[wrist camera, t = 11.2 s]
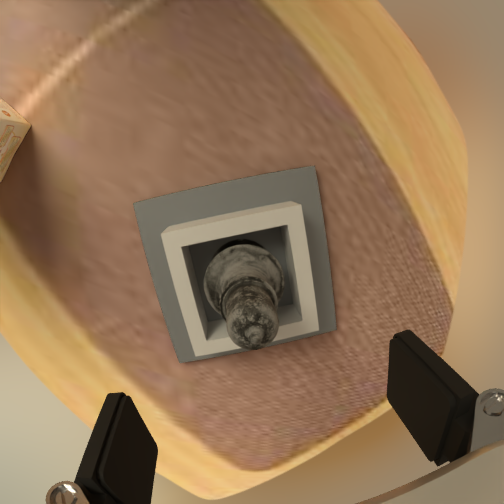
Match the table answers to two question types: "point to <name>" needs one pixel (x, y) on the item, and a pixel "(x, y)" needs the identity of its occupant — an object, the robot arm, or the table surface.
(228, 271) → the grey turned piece
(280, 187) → the socket
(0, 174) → the coffeecake box
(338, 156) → the table surface
